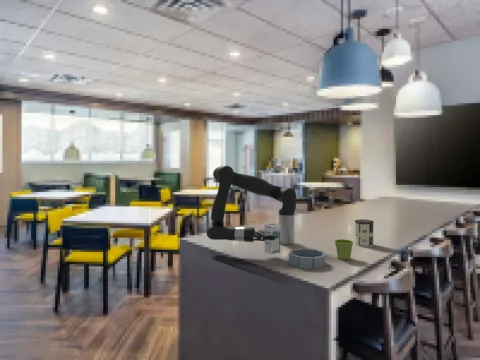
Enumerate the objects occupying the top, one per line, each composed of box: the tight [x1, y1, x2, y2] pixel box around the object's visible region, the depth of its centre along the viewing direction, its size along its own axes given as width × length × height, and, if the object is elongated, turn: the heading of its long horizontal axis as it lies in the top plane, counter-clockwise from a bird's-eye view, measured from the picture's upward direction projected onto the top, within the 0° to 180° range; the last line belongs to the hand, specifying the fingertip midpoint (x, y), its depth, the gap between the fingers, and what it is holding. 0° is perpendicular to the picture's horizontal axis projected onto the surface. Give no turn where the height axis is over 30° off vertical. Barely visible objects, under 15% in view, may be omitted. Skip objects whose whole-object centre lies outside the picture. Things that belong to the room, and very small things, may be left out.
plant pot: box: [334, 238, 355, 261], centre depth 168 cm, size 9×9×9 cm
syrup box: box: [263, 222, 281, 255], centre depth 169 cm, size 6×6×14 cm
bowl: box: [288, 247, 326, 270], centre depth 160 cm, size 16×16×5 cm
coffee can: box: [354, 219, 375, 248], centre depth 195 cm, size 10×10×14 cm
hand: (276, 236), depth 169 cm, fingers closed on syrup box, 7 cm apart
